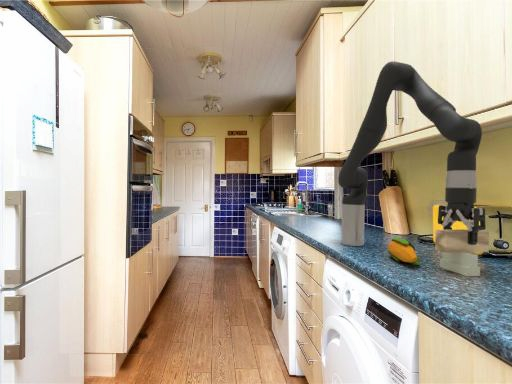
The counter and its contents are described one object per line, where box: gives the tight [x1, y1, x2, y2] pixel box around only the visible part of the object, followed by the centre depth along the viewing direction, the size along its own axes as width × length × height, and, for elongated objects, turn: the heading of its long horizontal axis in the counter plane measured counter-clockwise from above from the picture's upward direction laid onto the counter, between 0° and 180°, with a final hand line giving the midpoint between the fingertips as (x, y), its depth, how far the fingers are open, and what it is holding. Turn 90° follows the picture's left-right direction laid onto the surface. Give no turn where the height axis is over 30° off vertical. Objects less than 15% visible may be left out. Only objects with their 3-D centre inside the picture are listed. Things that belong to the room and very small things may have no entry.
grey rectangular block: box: [439, 251, 481, 277], centre depth 87 cm, size 10×4×6 cm, turn 9°
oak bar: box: [434, 228, 490, 253], centre depth 87 cm, size 4×14×6 cm, turn 99°
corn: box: [387, 237, 421, 266], centre depth 97 cm, size 7×8×20 cm
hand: (459, 241), depth 87 cm, fingers open, 8 cm apart
